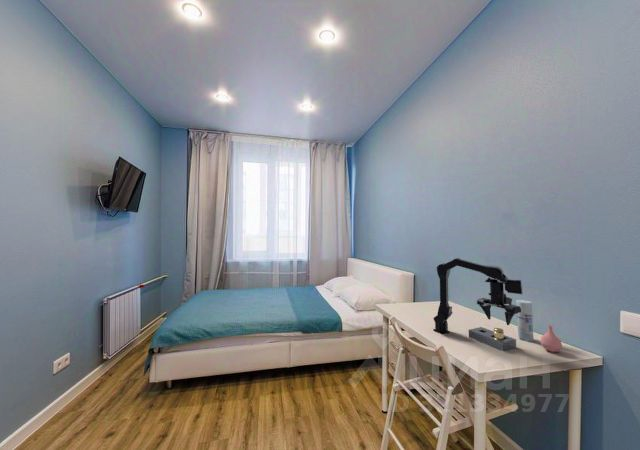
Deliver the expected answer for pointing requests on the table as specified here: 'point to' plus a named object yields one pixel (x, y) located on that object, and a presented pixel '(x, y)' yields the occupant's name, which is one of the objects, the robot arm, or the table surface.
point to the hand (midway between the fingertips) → (498, 322)
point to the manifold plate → (492, 339)
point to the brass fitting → (498, 333)
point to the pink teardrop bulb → (551, 341)
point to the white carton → (525, 320)
